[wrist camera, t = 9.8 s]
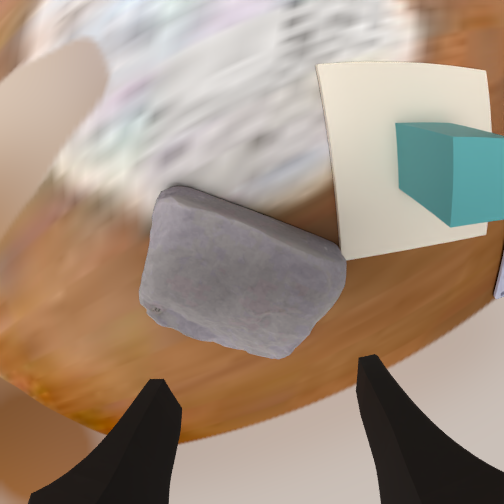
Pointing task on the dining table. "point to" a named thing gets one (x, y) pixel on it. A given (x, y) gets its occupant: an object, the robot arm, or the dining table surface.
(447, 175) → the teal block
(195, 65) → the dining table surface
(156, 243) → the stone block
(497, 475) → the robot arm
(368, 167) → the coaster
